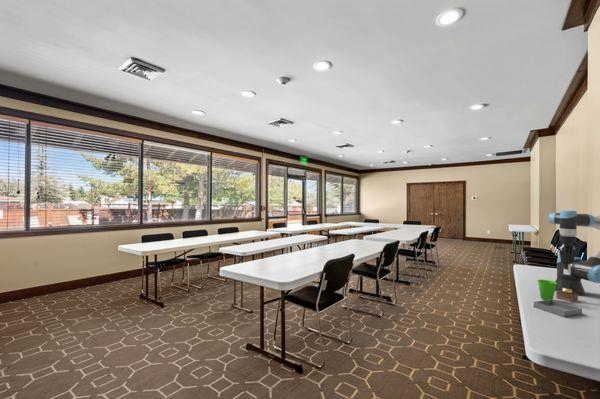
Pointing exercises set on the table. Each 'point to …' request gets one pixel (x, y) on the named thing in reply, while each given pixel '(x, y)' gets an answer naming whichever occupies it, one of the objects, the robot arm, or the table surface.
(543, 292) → the cup
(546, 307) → the tray
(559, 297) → the block
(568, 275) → the robot arm
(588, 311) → the table surface
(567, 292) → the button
